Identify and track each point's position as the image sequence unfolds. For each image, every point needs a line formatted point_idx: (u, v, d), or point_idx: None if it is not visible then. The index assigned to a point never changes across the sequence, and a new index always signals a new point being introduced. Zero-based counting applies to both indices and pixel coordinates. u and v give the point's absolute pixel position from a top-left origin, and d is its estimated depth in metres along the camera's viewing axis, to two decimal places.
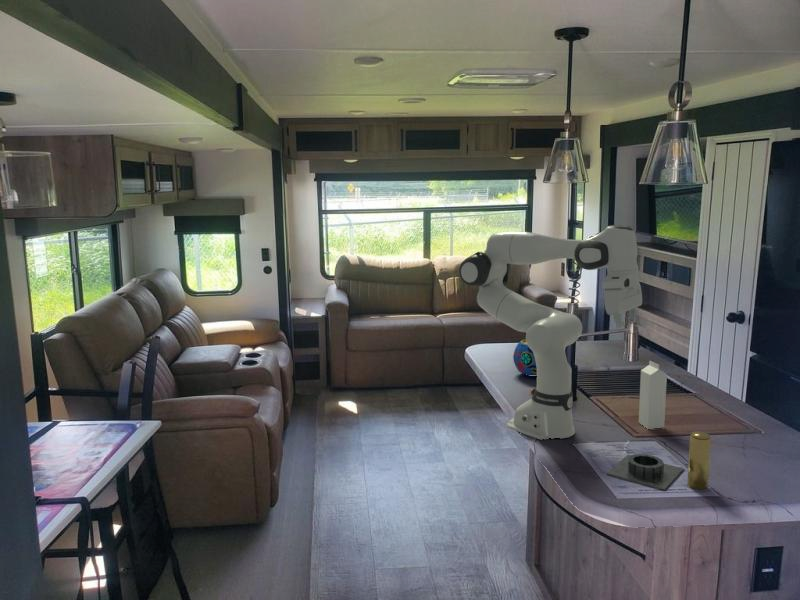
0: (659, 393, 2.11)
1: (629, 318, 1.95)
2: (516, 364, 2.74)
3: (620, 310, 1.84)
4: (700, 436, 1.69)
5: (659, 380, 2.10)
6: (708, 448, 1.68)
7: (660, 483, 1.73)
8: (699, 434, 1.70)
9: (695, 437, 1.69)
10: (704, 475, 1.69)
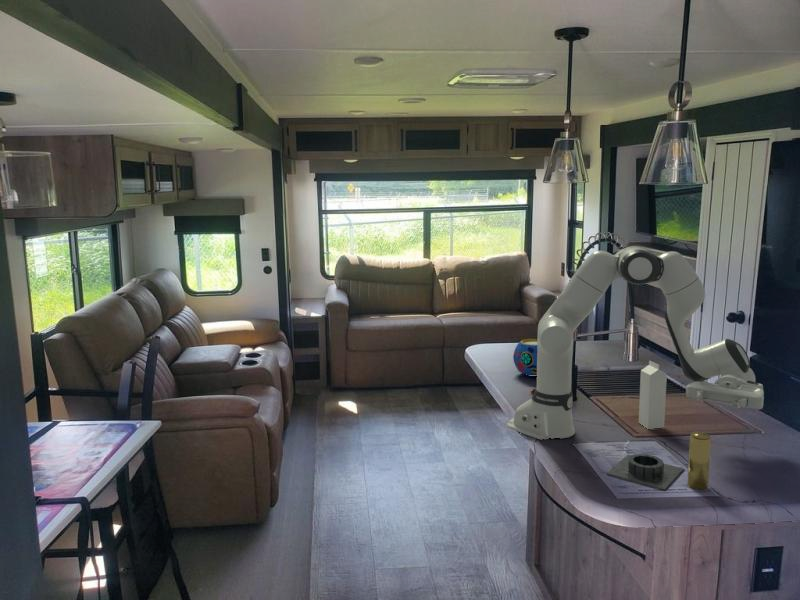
0: (659, 393, 2.11)
1: (703, 396, 1.84)
2: (516, 364, 2.74)
3: None
4: (700, 436, 1.69)
5: (659, 380, 2.10)
6: (708, 448, 1.68)
7: (660, 483, 1.73)
8: (699, 434, 1.70)
9: (695, 437, 1.69)
10: (704, 475, 1.69)
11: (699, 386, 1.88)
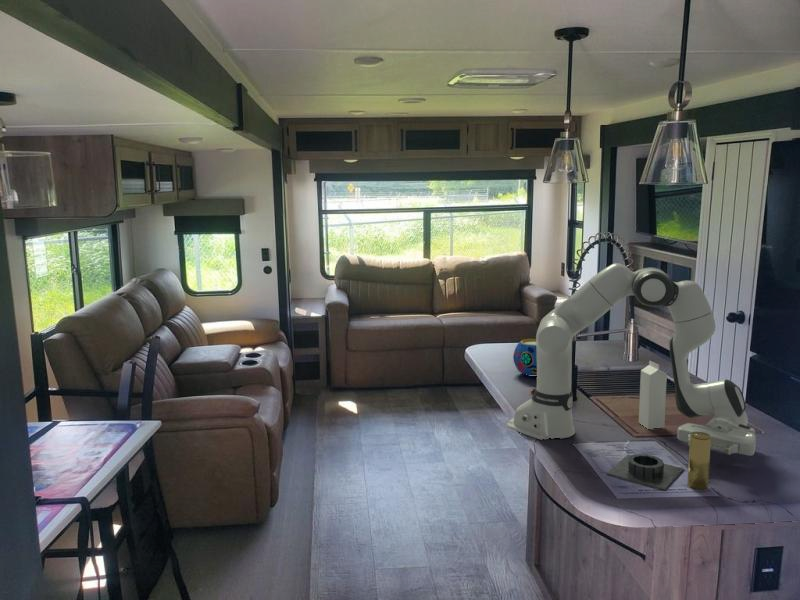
0: (659, 393, 2.11)
1: None
2: (516, 364, 2.74)
3: None
4: (700, 436, 1.69)
5: (659, 380, 2.10)
6: (708, 448, 1.68)
7: (660, 483, 1.73)
8: (699, 434, 1.70)
9: (695, 437, 1.69)
10: (704, 475, 1.69)
11: (690, 429, 1.86)
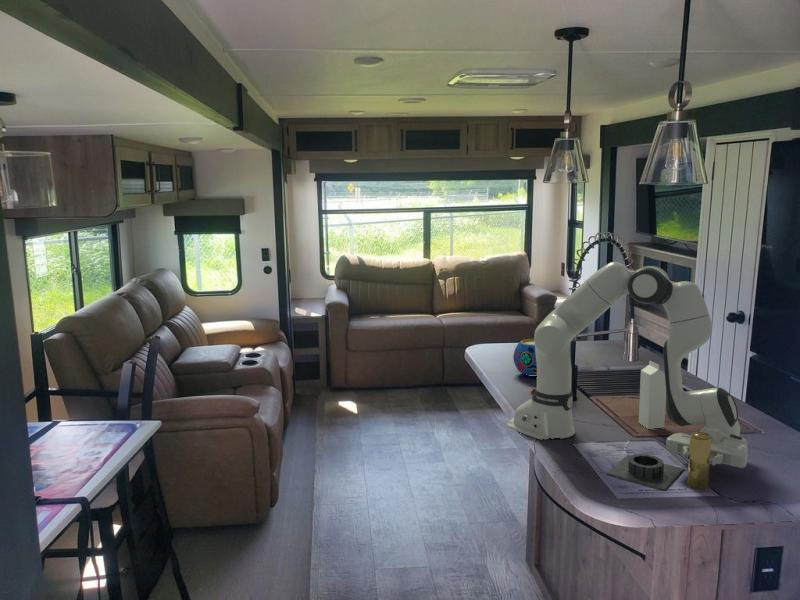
0: (659, 393, 2.11)
1: None
2: (516, 364, 2.74)
3: None
4: (700, 436, 1.69)
5: (659, 380, 2.10)
6: (708, 448, 1.68)
7: (660, 483, 1.73)
8: (699, 434, 1.70)
9: (695, 437, 1.69)
10: (704, 475, 1.69)
11: (680, 440, 1.79)
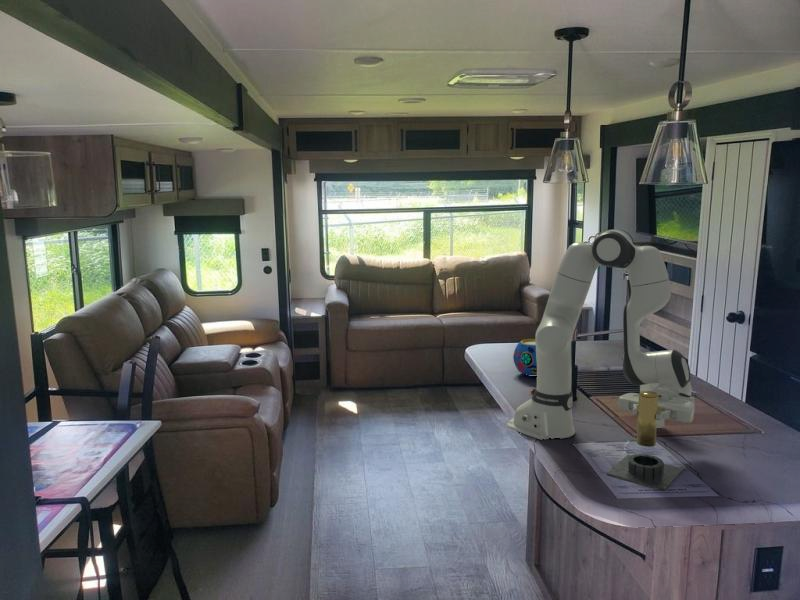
0: None
1: None
2: (516, 364, 2.74)
3: None
4: (648, 394, 1.76)
5: None
6: (655, 406, 1.76)
7: (660, 483, 1.73)
8: (647, 393, 1.77)
9: (643, 395, 1.76)
10: (651, 431, 1.77)
11: (631, 398, 1.86)
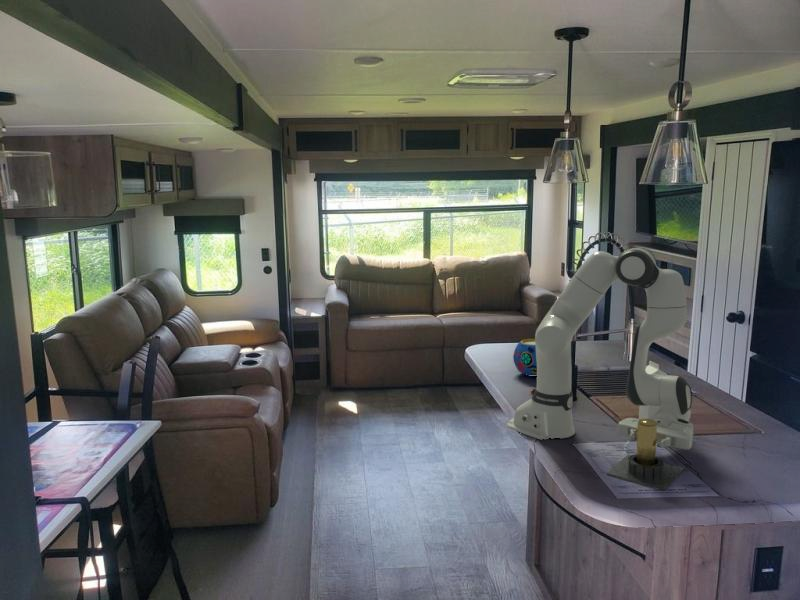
0: None
1: (636, 436, 1.82)
2: (516, 364, 2.74)
3: None
4: (646, 423, 1.77)
5: None
6: (654, 434, 1.77)
7: (660, 483, 1.73)
8: (646, 421, 1.79)
9: (642, 424, 1.78)
10: (650, 459, 1.78)
11: (630, 424, 1.87)
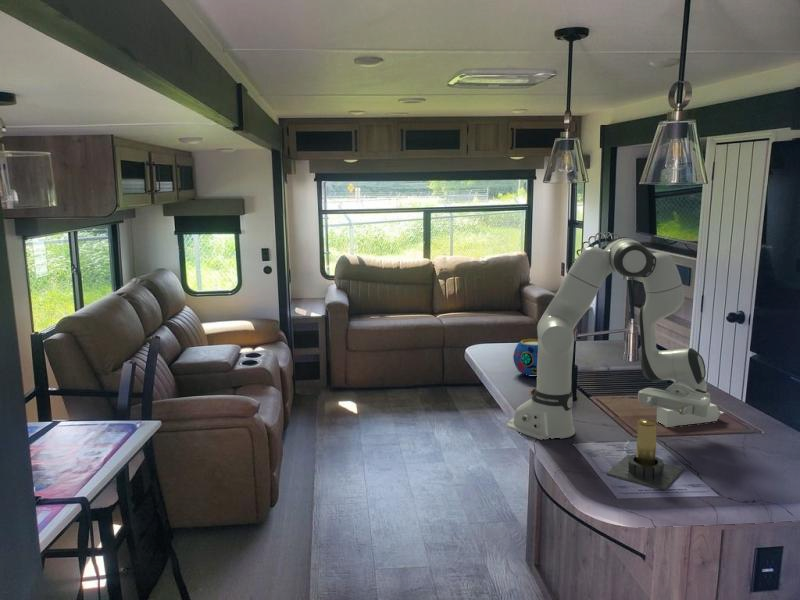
0: (700, 417, 2.16)
1: (652, 402, 1.92)
2: (516, 364, 2.74)
3: None
4: (646, 423, 1.77)
5: (710, 415, 2.17)
6: (654, 434, 1.77)
7: (660, 483, 1.73)
8: (646, 421, 1.79)
9: (642, 424, 1.78)
10: (650, 459, 1.78)
11: (650, 392, 1.96)
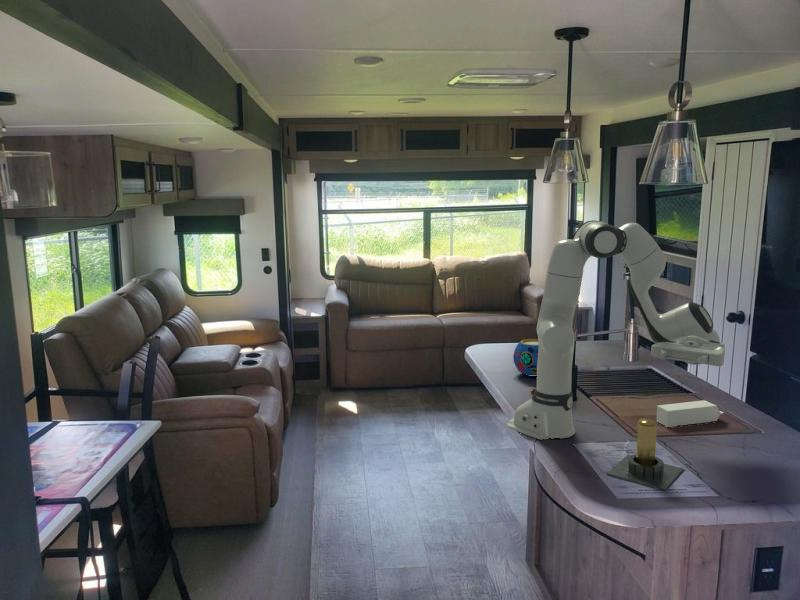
0: (700, 417, 2.16)
1: (666, 354, 1.90)
2: (516, 364, 2.74)
3: None
4: (646, 423, 1.77)
5: (710, 415, 2.17)
6: (654, 434, 1.77)
7: (660, 483, 1.73)
8: (646, 421, 1.79)
9: (642, 424, 1.78)
10: (650, 459, 1.78)
11: (663, 346, 1.95)
